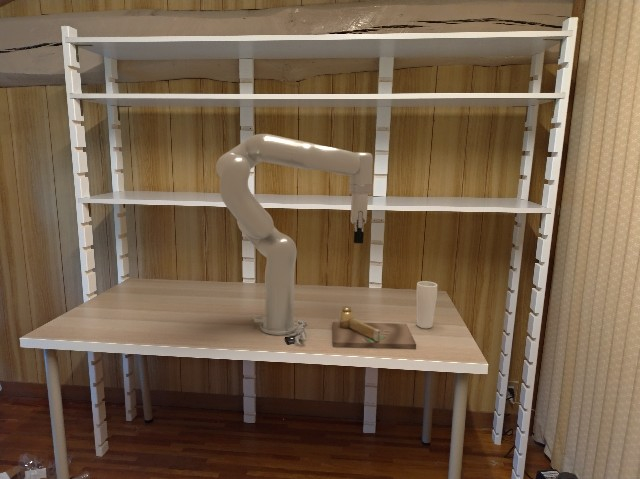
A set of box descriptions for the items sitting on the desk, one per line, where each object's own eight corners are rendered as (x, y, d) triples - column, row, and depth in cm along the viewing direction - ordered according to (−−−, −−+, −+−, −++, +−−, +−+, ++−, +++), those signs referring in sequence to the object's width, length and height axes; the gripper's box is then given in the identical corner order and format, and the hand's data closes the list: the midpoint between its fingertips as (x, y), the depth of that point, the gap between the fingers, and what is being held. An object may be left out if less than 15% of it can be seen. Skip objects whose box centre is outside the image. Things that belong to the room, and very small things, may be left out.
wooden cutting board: (332, 347, 140) (333, 341, 139) (332, 326, 156) (332, 321, 156) (416, 349, 139) (416, 343, 139) (406, 327, 156) (406, 323, 156)
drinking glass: (420, 321, 163) (422, 279, 160) (438, 325, 158) (441, 283, 156) (410, 326, 157) (413, 283, 155) (429, 331, 153) (432, 287, 150)
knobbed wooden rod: (336, 325, 152) (337, 307, 151) (347, 322, 155) (347, 304, 154) (373, 343, 139) (374, 323, 137) (384, 339, 141) (384, 320, 140)
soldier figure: (287, 349, 140) (284, 323, 151) (298, 356, 142) (294, 331, 153) (305, 333, 138) (301, 309, 149) (316, 342, 140) (311, 317, 151)
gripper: (348, 187, 164) (346, 238, 167) (350, 191, 149) (348, 247, 153) (369, 188, 164) (367, 239, 167) (373, 191, 149) (371, 247, 153)
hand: (358, 242), depth 160 cm, fingers closed
